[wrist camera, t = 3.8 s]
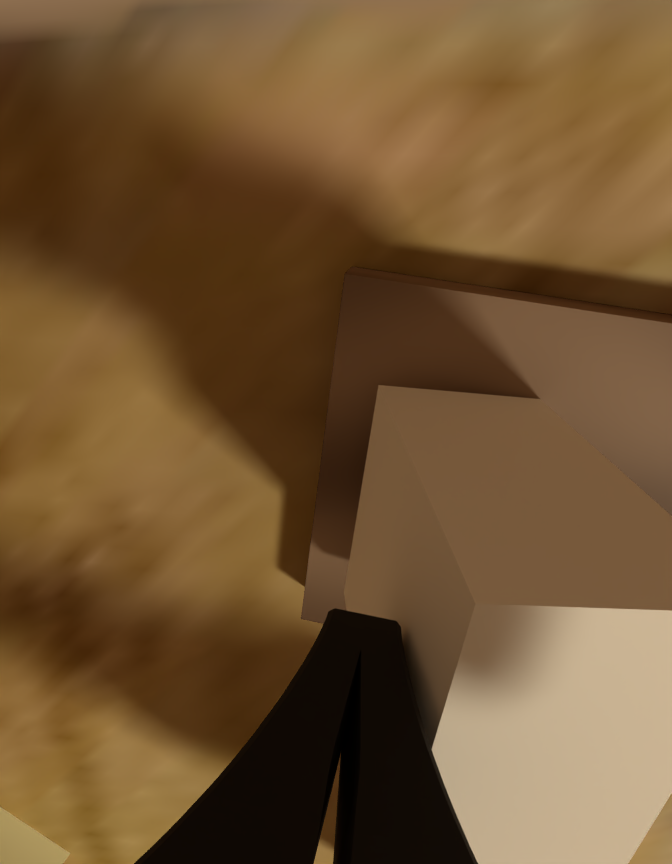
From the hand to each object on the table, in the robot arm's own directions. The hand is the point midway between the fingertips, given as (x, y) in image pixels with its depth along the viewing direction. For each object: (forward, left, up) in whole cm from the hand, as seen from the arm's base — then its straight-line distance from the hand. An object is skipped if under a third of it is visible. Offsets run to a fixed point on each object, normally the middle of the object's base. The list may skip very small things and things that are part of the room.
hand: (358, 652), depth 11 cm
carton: (0, -2, -6) cm, 6 cm away
